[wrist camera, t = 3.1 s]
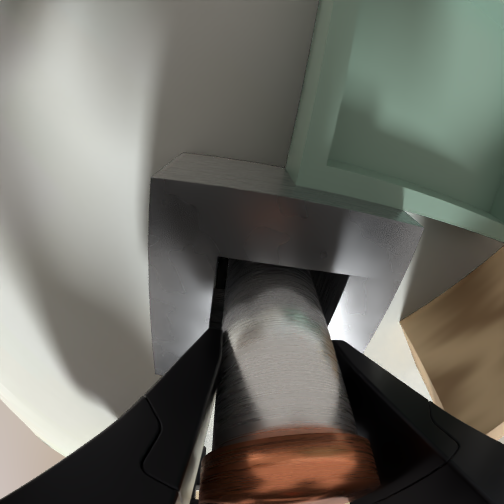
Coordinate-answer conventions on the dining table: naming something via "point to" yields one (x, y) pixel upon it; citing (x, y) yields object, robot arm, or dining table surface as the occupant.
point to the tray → (407, 108)
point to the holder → (266, 247)
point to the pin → (281, 399)
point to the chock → (465, 347)
